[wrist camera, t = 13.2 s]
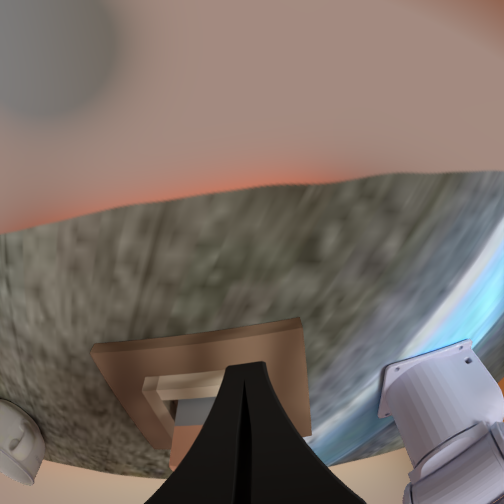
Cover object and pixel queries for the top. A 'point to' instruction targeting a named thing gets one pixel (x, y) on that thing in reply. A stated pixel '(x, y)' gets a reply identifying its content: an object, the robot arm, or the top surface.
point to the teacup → (19, 444)
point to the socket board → (202, 372)
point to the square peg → (188, 426)
